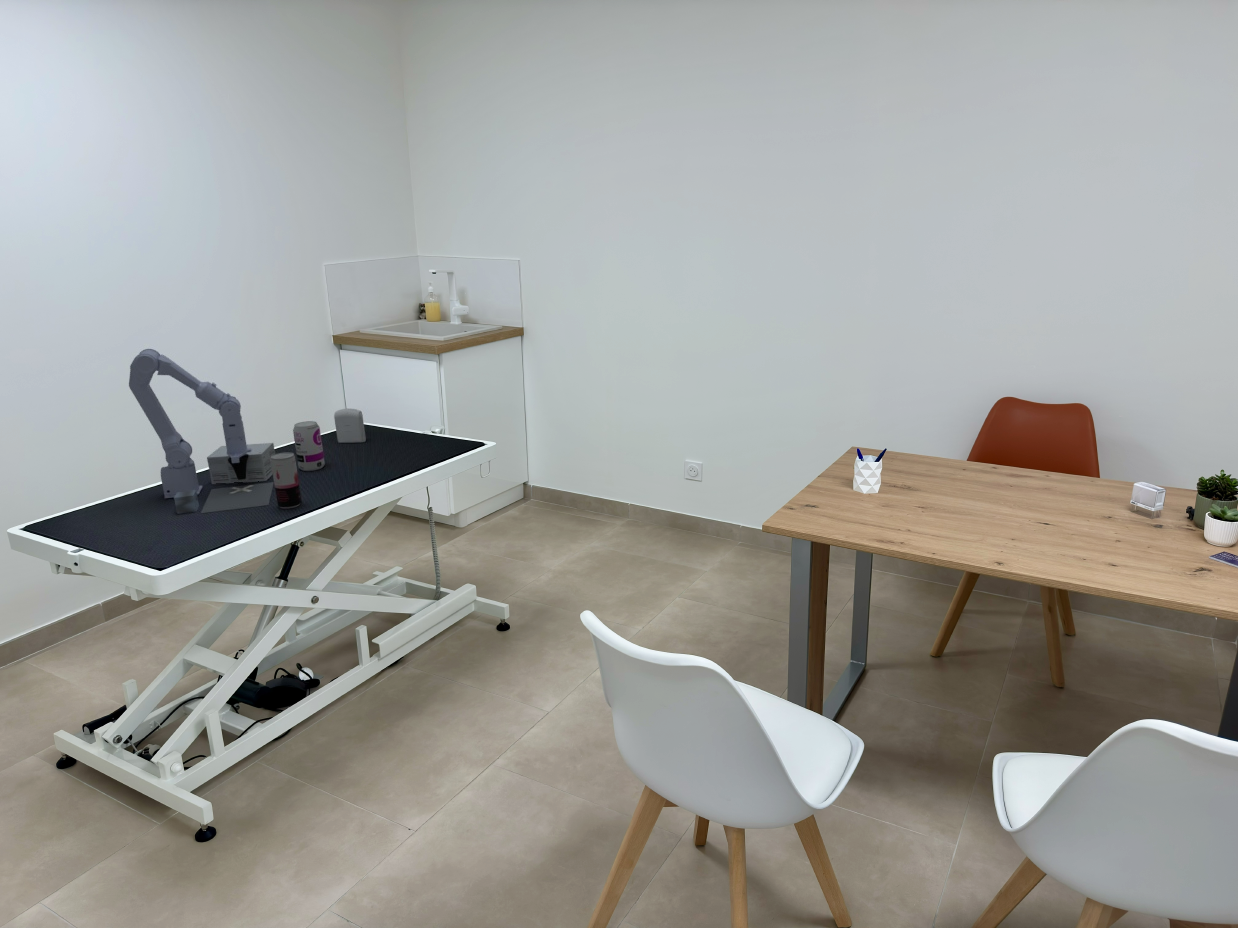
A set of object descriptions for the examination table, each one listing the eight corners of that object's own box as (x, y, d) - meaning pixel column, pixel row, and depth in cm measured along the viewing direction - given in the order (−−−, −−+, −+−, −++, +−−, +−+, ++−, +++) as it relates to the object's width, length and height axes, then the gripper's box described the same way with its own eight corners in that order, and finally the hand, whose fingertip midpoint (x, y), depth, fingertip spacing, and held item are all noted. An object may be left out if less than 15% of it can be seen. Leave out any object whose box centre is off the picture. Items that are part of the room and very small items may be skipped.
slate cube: (177, 514, 240) (174, 497, 238) (180, 508, 244) (177, 492, 243) (196, 511, 241) (193, 495, 240) (199, 506, 246) (196, 490, 244)
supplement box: (278, 469, 279) (274, 442, 276) (266, 481, 266) (261, 453, 263) (225, 472, 277) (221, 444, 274) (211, 485, 265) (205, 456, 262)
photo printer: (335, 443, 306) (331, 410, 302) (340, 440, 310) (336, 407, 306) (363, 443, 305) (359, 410, 301) (367, 440, 309) (363, 407, 305)
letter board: (200, 513, 239) (200, 512, 239) (211, 489, 259) (211, 488, 259) (268, 505, 244) (268, 504, 244) (273, 482, 264) (273, 481, 264)
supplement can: (329, 464, 282) (323, 420, 277) (318, 471, 274) (311, 427, 270) (305, 463, 283) (299, 420, 278) (294, 471, 275) (287, 427, 270)
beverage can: (306, 503, 245) (299, 454, 241) (288, 510, 240) (280, 460, 235) (291, 499, 249) (284, 451, 244) (273, 506, 243) (265, 457, 239)
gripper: (246, 441, 252) (253, 484, 257) (251, 429, 266) (257, 470, 270) (221, 444, 250) (228, 487, 255) (226, 432, 264) (234, 473, 268)
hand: (242, 478), depth 262 cm, fingers closed
